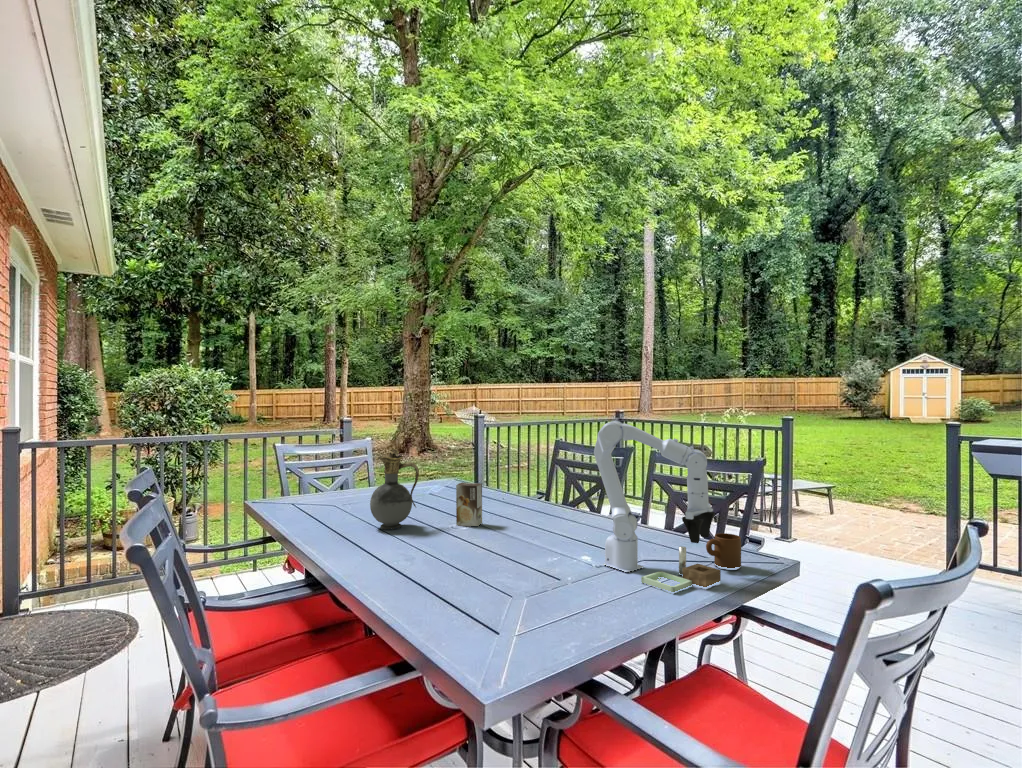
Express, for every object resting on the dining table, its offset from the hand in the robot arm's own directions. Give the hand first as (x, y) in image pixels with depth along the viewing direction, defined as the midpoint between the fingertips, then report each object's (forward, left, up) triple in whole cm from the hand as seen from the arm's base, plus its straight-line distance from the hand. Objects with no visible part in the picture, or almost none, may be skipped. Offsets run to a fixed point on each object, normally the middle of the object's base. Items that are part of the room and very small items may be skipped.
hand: (699, 539), depth 163 cm
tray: (-1, -14, -10) cm, 18 cm away
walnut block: (+4, -5, -10) cm, 12 cm away
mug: (0, +12, -11) cm, 16 cm away
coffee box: (-91, -18, -11) cm, 93 cm away
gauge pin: (-3, -3, -10) cm, 11 cm away
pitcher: (-105, -43, -11) cm, 114 cm away
